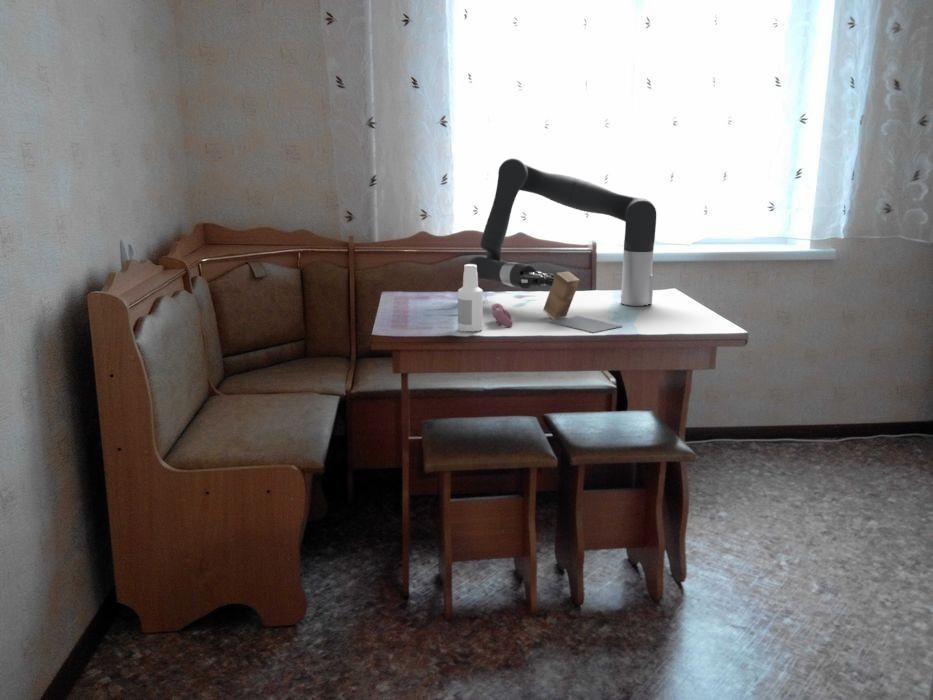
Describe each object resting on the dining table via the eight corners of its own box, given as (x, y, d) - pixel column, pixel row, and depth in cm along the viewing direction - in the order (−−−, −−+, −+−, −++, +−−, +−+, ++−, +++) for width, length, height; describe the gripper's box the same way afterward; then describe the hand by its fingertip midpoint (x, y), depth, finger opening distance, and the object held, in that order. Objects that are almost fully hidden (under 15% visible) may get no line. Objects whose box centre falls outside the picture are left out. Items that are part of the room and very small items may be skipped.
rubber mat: (548, 322, 229) (548, 321, 229) (577, 316, 236) (577, 315, 236) (593, 333, 216) (593, 332, 216) (621, 327, 223) (622, 325, 223)
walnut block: (554, 308, 238) (568, 271, 231) (565, 317, 235) (579, 279, 228) (542, 310, 235) (556, 272, 228) (553, 319, 232) (567, 281, 225)
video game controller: (498, 325, 232) (487, 304, 230) (512, 318, 231) (502, 297, 230) (499, 333, 222) (488, 311, 221) (514, 326, 222) (503, 304, 220)
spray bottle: (460, 326, 223) (460, 262, 218) (484, 327, 222) (485, 263, 217) (455, 331, 216) (455, 266, 212) (480, 333, 215) (480, 267, 210)
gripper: (501, 265, 240) (541, 272, 227) (533, 261, 248) (574, 267, 235) (501, 289, 242) (541, 298, 229) (533, 284, 250) (573, 292, 237)
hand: (557, 282), depth 232 cm, fingers closed
